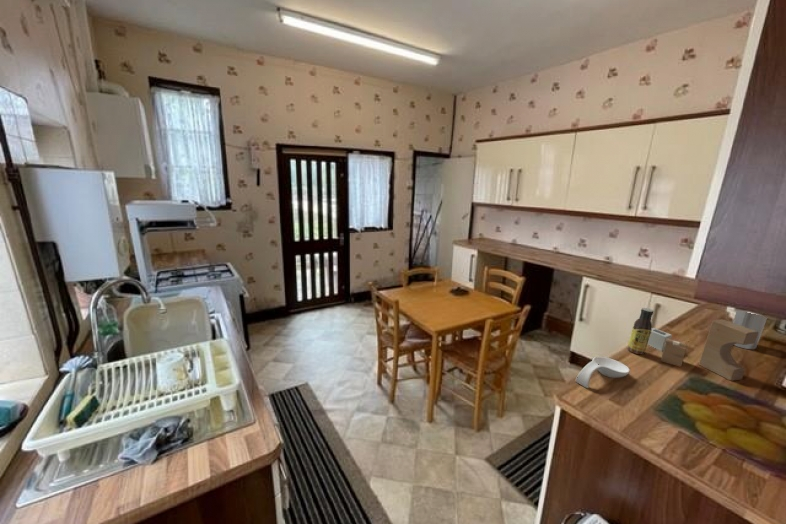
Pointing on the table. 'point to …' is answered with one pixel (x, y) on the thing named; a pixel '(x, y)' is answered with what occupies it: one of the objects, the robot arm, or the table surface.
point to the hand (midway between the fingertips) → (738, 306)
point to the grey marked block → (658, 339)
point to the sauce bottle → (641, 332)
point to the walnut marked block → (673, 352)
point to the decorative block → (725, 348)
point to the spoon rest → (601, 370)
